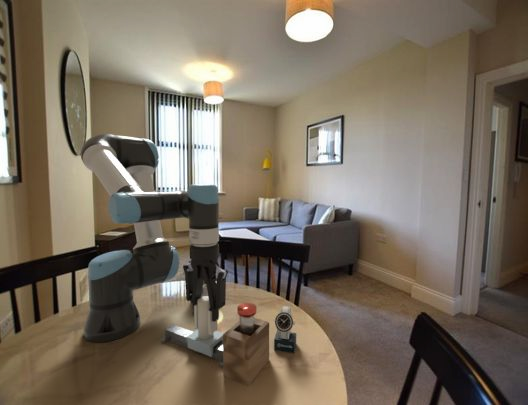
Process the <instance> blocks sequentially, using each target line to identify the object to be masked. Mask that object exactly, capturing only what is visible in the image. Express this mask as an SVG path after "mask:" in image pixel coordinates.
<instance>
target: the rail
mask: <svg viewBox="0 0 528 405" xmlns="http://www.w3.org/2000/svg"><path fill="white" fill-rule="evenodd" d="M193 332H194V331H193V330H190V329H187V328H184V327H181V326H178V325H176V324H172V325H170V326H168V327H167V328H165V329H164V337H162V338H161V339H160V342H161V343H162V344H165V343H167V342H171V343H173V344H176V345H178V346H181V347H183V348H186V349H188V350H191V351H194V352H195V353H199V354H200V355H203V356H206V357H208V358H210V359H213V360H215V361H218V362H219V364H218V365H219V367H220V368H223V342H221V341H220V342H219V343H218V344H216V345H215V346H214V347H213V356H212V357H210V356H208V355H205V354H203V353H200V352H198V351H195V350H193V349H190V348H188V341H187V336H189V335H190V334H192V333H193Z"/></svg>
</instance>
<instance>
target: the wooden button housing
mask: <svg viewBox="0 0 528 405" xmlns="http://www.w3.org/2000/svg"><path fill="white" fill-rule="evenodd" d="M269 360H270V322H269V321H267V320H263V319H261V318H260V319H259V318H256V317H254V333H253V334H252V335H251V336H249V335H245V334H242V333H240V320H238V321H237V322H236V323H235V324H233V326H231V327H230V328H229V329H228V330H227V331H225V332H224V334H223V367H222V371H223V372H222V373H223V376H224V377H227V378H229V379H232V380H233V381H236V382H238V383H240V384H243V385H245V386H248V387H250V385H251V384H252V383H253V381H254V380H255V378H256V377H257V376H258V375H259V374H260V372H261V371H262V370H263V368H264V366H266V364H267V363H268V362H269Z"/></svg>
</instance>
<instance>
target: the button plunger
mask: <svg viewBox="0 0 528 405" xmlns="http://www.w3.org/2000/svg"><path fill="white" fill-rule="evenodd" d="M256 314H257V305H256V304H254V303H251V302H244V303H241V304H239V305H237V315H238V316H239V321H240V333H242V334H245V335H249V336H251V335H252V334H253V333H254V318H255V315H256Z"/></svg>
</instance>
